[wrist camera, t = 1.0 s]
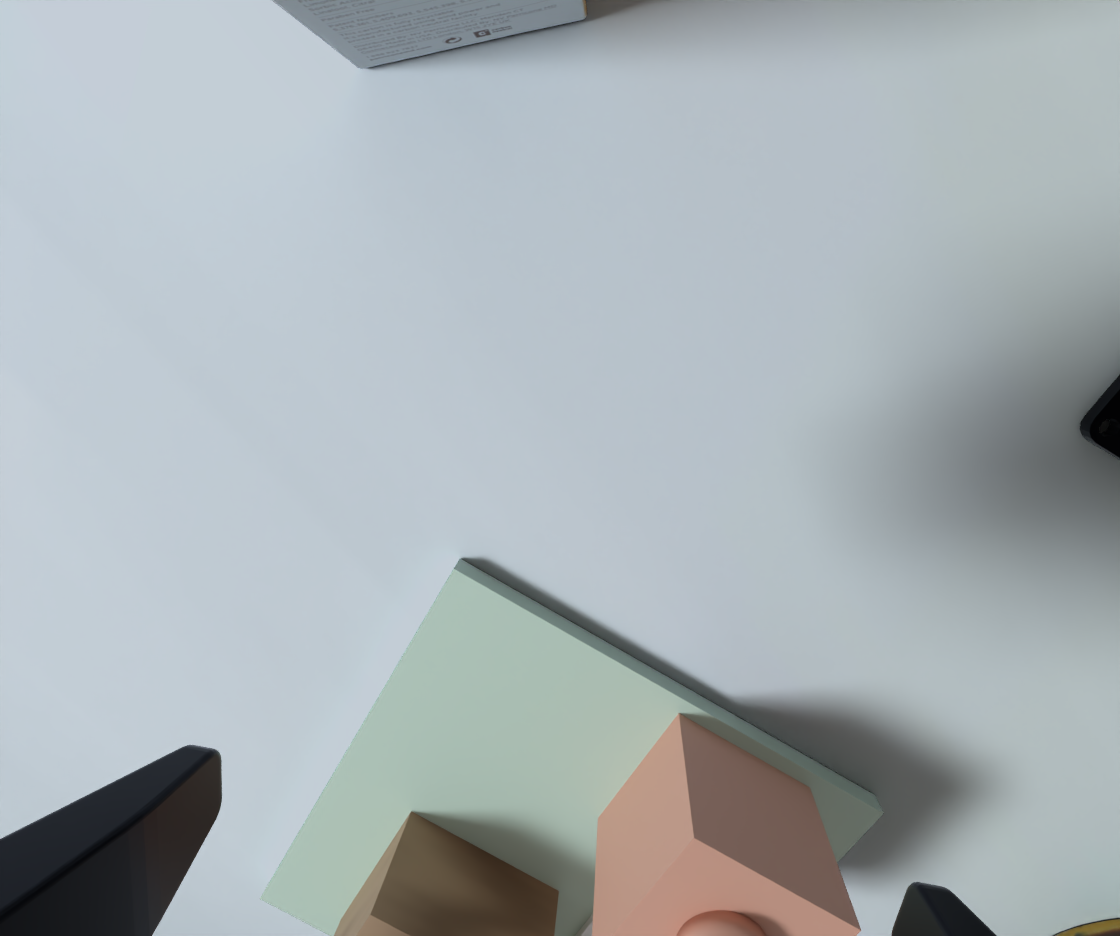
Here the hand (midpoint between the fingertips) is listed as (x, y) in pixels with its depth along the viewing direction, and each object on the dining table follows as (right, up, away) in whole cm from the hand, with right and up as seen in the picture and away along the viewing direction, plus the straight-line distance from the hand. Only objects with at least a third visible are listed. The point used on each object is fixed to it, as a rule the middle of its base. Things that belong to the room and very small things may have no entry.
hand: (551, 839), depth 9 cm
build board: (0, -9, +16) cm, 18 cm away
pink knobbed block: (+5, -6, +14) cm, 16 cm away
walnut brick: (-4, -11, +16) cm, 20 cm away
